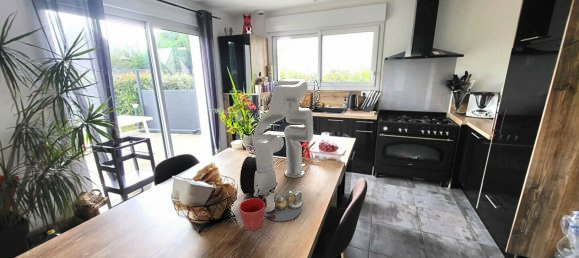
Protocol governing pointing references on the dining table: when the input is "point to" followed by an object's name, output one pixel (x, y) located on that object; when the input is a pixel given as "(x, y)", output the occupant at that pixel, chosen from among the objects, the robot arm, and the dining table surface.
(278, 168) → the dining table surface
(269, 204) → the open ended square duct
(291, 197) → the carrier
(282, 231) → the dining table surface
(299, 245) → the dining table surface
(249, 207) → the flower pot
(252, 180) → the car wheel rim
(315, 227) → the dining table surface
